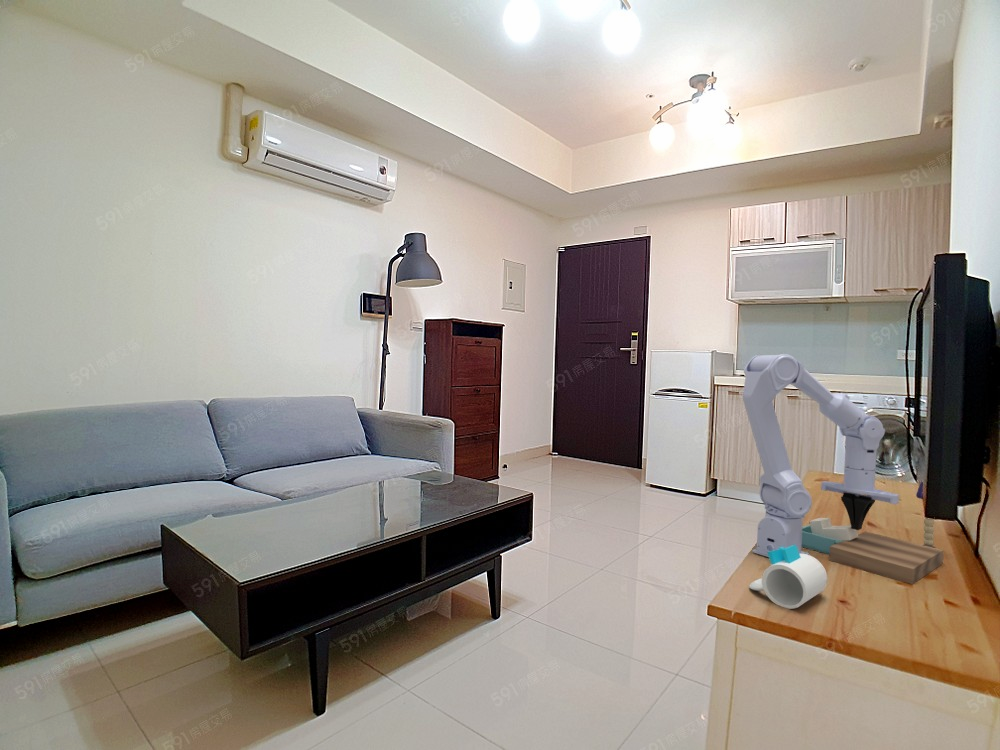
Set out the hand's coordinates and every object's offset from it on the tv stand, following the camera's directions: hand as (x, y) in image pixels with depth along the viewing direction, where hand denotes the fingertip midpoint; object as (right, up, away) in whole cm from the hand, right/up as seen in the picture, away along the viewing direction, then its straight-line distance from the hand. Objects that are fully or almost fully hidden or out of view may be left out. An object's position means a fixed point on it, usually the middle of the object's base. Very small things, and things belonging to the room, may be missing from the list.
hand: (856, 528), depth 117 cm
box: (-4, -5, +5) cm, 8 cm away
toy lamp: (+17, -6, +2) cm, 19 cm away
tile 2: (-2, -3, +2) cm, 4 cm away
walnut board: (+3, -6, -5) cm, 8 cm away
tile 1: (-4, -2, +5) cm, 6 cm away
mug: (-28, -5, -23) cm, 37 cm away
